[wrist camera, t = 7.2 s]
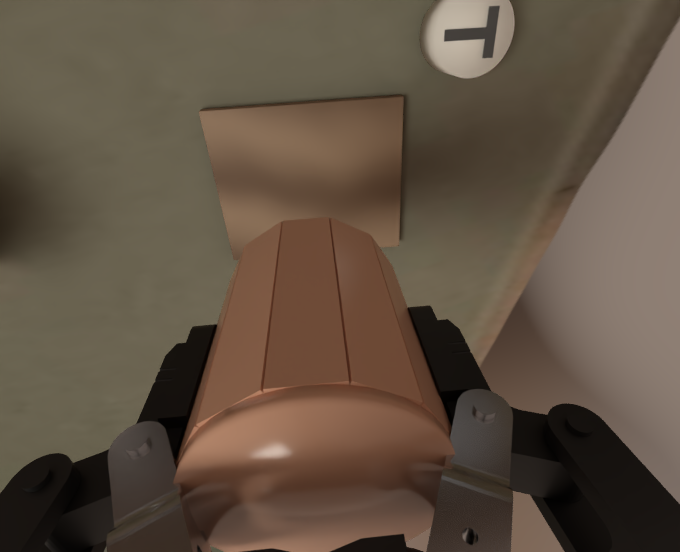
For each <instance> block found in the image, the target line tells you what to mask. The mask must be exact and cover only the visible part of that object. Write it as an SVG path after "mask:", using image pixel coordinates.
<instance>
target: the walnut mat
mask: <svg viewBox="0 0 680 552" xmlns="http://www.w3.org/2000/svg"><path fill="white" fill-rule="evenodd" d="M403 100H404V97H403V96H402V95H391V96H377V97H363V98H349V99H335V100H322V101H308V102H294V103H280V104H266V105H253V106H239V107H225V108H211V109H202V110H200V111H199V114H200V119H201V123H202V127H203V131H204V136H205V140H206V144H207V148H208V152H209V157H210V161H211V165H212V169H213V174H214V178H215V182H216V186H217V190H218V195H219V199H220V203H221V207H222V212H223V216H224V220H225V224H226V229H227V233H228V237H229V241H230V245H231V250H232V254H233V258H234V260H239V258H240V256H241V254H242V251H243V249H244V247H245V246H246V244H248V243H249V242H251V241H252V240H254V239H255V238H257V237H258V236H260V235H261V234H263V233H264V232H266V231H267V230H269V229H270V228H272V227H273V226H275V225H276V224H278V223H279V222H281V221H282V223H283V221H285V220H297V219H309V218H321V217H329V219H330V217H331V218H333V219H336V220H338V221H340V222H343V223H345V224H347V225H350V226H352V227H354V228H356V229H359V230H361V231H363V232H366V233H368V234H370V236H372V237H373V239H374V240H375V242H376V243H377V244H378V246H379V247H380V248H381V247H393V246H399V231H400V198H401V165H402V133H403Z"/></svg>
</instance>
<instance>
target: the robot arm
mask: <svg viewBox="0 0 680 552" xmlns="http://www.w3.org/2000/svg"><path fill="white" fill-rule="evenodd" d="M408 311H409V314H410V316H411V319H412V322H413V325H414V327H415V330H416V333H417V336H418V338H419V341H420V344H421V346H422V349H423V352H424V355H425V357H426V360H427V363H428V366H429V368H430V371H431V374H432V377H433V379H434V382H435V385H436V388H437V390H438V393H439V396H440V398H441V400H442V402H443V405H444V408H445V411H446V413H447V416H448V419H449V422H450V424H451V427H452V430H451V435H450V440H451V443H452V446H453V448H454V451H455V454H453V455H446V460H445V465H444V467H443V472H442V477H441V482H440V487H439V491H438V496H437V501H436V506H435V511H434V516H433V521H432V526H431V532H430V536H429V541H428V546H427V551H426V552H511V535H512V512H513V491H516V492H521V493H525V494H530V495H531V496H532V498H533V500H534V501H535V503H536V505H537V507H538V508H539V510H540V512H541V513H542V515H543V517H544V518H545V520H546V522H547V523H548V525H549V526H550V528H551V530H552V531H553V533H554V535H555V536H556V538H557V540H558V541H559V543H560V545H561V546H562V548H563V550H564V551H565V552H680V504H679V503H678V502H677V501H676V500H675V499H674V498H673V497H672V495H671V494H670V493H669V492H668V491H667V490H666V489H665V488H664V487H663V486H662V485H661V483H660V482H659V481H658V480H657V479H656V478H655V477H654V476H653V475H652V474H651V472H650V471H649V470H648V469H647V468H646V467H645V466H644V465H643V464H642V462H640V460H638V458H637V457H636V456H635V455H634V454H633V453H632V452H631V450H630V449H629V448H628V447H627V446H626V445H625V444H624V443H623V442H622V441H621V440H620V439H619V437H618V436H617V435H616V434H615V433H614V432H613V431H612V430H611V428H610V427H609V426H608V425H607V424H606V423H605V422H604V421H603V420H602V419H601V418H600V417H599V416H598V415H596V414H595V413H593V412H592V411H590V410H588V409H586V408H584V407H581V406H578V405H574V404H560V405H556V406H554V407H553V408H552V409H550V411H549V413H548V415H545V414H539V413H533V412H528V411H522V410H518V409H515V408H513V407H510V406H509V404H508V403H507V402H506V401H505V400H504V399H503V398H502V397H501V396H499V395H498V394H496V393H493V392H492V391H491V390H490V388H489V386H488V384H487V382H486V380H485V379H484V376H483V375H482V372H481V370H480V368H479V367H478V365H477V363H476V361H475V359H474V357H473V355H472V353H471V352H470V349H469V347H468V345H467V343H465V339H464V337H463V335H462V333H461V331H460V329H459V328H457V327H456V326H455V325H454V324H453V323H451V322H450V321H449V320H448V319H446V320H437V318H436V316H435V314H434V312H433V309H432V307H431V306H419V307H408ZM216 327H217V325H216V324H215V325H204V326H194V327H192V329H191V331H190V334H189V336H188V339H187V341H186V343H179V344H176V345H175V346H174V347H173V349H172V350H171V351H170V352H169V353H168V354H167V355H166V356H165V358H164V361H163V363H162V365H161V368H160V372H158V375H157V377H156V379H155V381H156V382H155V383H154V384H153V386H152V389H151V391H150V393H149V396H148V398H147V400H146V403H145V405H144V407H143V410H142V412H141V414H140V417H139V419H138V421H137V423H136V424H135V425H133V426H131V427H129V428H127V429H126V430H124V431H123V432H122V433H121V434H120V435H119V436H118V437H117V438H116V439H115V440H114V441H113V443H112V445H111V446H110V449H109V450H106V451H104V452H102V453H99V454H96V455H94V456H91V457H88V458H85V459H83V460H80V461H77V462H75V463H73V462H72V461H71V460H70V458H69V457H68V456H66V455H64V454H59V453H56V454H49V455H46V456H43V457H40V458H38V459H36V460H34V461H32V462H31V463H29V464H28V465H26V466H25V467H24V468H22V469H21V470H20V471H19V472H18V473H17V474H16V475H15V476H14V477H13V478H12V479H11V480H10V482H9V483H8V484H7V486H6V487H5V488H4V490H3V491H2V492H1V493H0V552H104V550H105V548H106V546H107V552H212V550H211V547H210V544H209V540H208V538H207V536H206V534H205V532H204V530H203V531H200V530H199V528H198V526H197V524H196V522H195V520H194V518H193V516H192V514H191V511H190V508H189V505H188V502H187V498H186V495H185V493H184V491H183V489H182V487H181V485H180V483H174V484H173V481H174V478H175V474H176V471H177V466H176V460H177V457H178V453H179V450H180V447H181V443H182V440H183V437H184V433H185V430H186V427H187V423H188V421H189V417H190V414H191V411H192V407H193V404H194V401H195V397H196V394H197V391H198V387H199V384H200V381H201V377H202V374H203V371H204V367H205V364H206V361H207V357H208V354H209V351H210V347H211V344H212V340H213V337H214V334H215V330H216ZM242 552H289V551H284V550H279V549H274V548H269V549H260V550H251V551H242ZM330 552H423V551H420V550H417V549H414V548H409V547H406V542H405V537H404V534H396V535H387V536H378V537H369V538H361V539H359V540H356V541H354V542H352V543H349V544H347V545H344V546H342V547H340V548H337V549H335V550H333V551H330Z"/></svg>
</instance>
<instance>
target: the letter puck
mask: <svg viewBox="0 0 680 552" xmlns="http://www.w3.org/2000/svg"><path fill="white" fill-rule="evenodd" d="M514 25H515V23H514V12H513V8H512V5H511V3H510V1H509V0H435V2H434V3H433V4H432V5H431V6H430V8H429V9H428V11H427V12H426V14H425V16H424V18H423V21H422V24H421V29H420V47H421V51H422V54H423V56H424V58H425V60H426V61H427V62H428V64H429V65H430V66H431V67H433V68H434V69H436V70H438V71H441V72H444V73H447V74H450V75H453V76H457V77H460V78H475V77H478V76H481V75H483V74H485V73H487V72H489V71H490V70H491V69H493V68H494V67H495V66H496V65H497V64H498V63H499V62H500V61H501V60H502V58H503V57H504V55H505V54H506V52H507V50H508V48H509V46H510V44H511V41H512V38H513V33H514Z"/></svg>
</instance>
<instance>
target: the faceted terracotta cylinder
mask: <svg viewBox="0 0 680 552" xmlns="http://www.w3.org/2000/svg"><path fill="white" fill-rule="evenodd" d="M451 430H452V427H451V424H450V422H449V419H448V416H447V413H446V411H445V408H444V405H443V402H442V400H441V398H440V396H439V393H438V390H437V388H436V385H435V382H434V379H433V377H432V374H431V371H430V368H429V366H428V363H427V360H426V357H425V355H424V352H423V349H422V346H421V344H420V341H419V338H418V336H417V333H416V330H415V327H414V325H413V322H412V319H411V316H410V314H409V311H408V307H407V304H406V302H405V299H404V296H403V294H402V291H401V288H400V285H399V283H398V280H397V277H396V275H395V272H394V269H393V266H392V265H391V263H390V262H389V260H388V259H387V258H386V256H385V255H384V253H383V252H382V250H381V249H380V247H379V246H378V244H377V243H376V242H375V240H374V239H373V237H372V236H370V234H368V233H366V232H363V231H361V230H359V229H356V228H354V227H352V226H350V225H347V224H345V223H343V222H340V221H338V220H336V219H333V218H331V217H330V219H329V217H321V218H309V219H297V220H285V221H283V223H282V221H281V222H279V223H278V224H276V225H275V226H273V227H272V228H270V229H269V230H267V231H266V232H264V233H263V234H261V235H260V236H258V237H257V238H255V239H254V240H252V241H251V242H249V243H248V244H246V246H245V247H244V249H243V251H242V254H241V256H240V258H239V261H238V263H237V266H236V268H235V270H234V273H233V275H232V278H231V280H230V283H229V286H228V290H227V293H226V296H225V300H224V303H223V306H222V310H221V313H220V317H219V320H218V323H217V327H216V330H215V334H214V337H213V340H212V344H211V347H210V351H209V354H208V357H207V361H206V364H205V367H204V371H203V374H202V377H201V381H200V384H199V387H198V391H197V394H196V397H195V401H194V404H193V407H192V411H191V414H190V417H189V421H188V423H187V427H186V430H185V433H184V437H183V440H182V443H181V447H180V450H179V453H178V457H177V460H176V466H177V471H176V474H175V478H174V481H173V484H174V483H180V485H181V487H182V489H183V491H184V493H185V495H186V498H187V502H188V505H189V508H190V511H191V514H192V516H193V518H194V520H195V522H196V524H197V526H198V528H199V530H200V531H203V530H204V532H205V534H206V536H207V538H208V540H209V544H210V545H211V546H213V547H215V548H217V549H220V550H222V551H224V552H242V551H251V550H260V549H269V548H274V549H279V550H284V551H289V552H330V551H333V550H335V549H337V548H340V547H342V546H344V545H347V544H349V543H352V542H354V541H356V540H359V539H361V538H369V537H378V536H387V535H396V534H404V537H405V542H407V541H408V540H410V539H413V538H414V537H416V536H418V535H419V534H421V533H423V532H424V531H426V530H427V529H429V528H430V527H431V526H432V521H433V516H434V511H435V506H436V501H437V496H438V491H439V487H440V482H441V477H442V472H443V467H444V465H445V460H446V455H453V454H455V451H454V448H453V446H452V443H451V440H450V435H451Z"/></svg>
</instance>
